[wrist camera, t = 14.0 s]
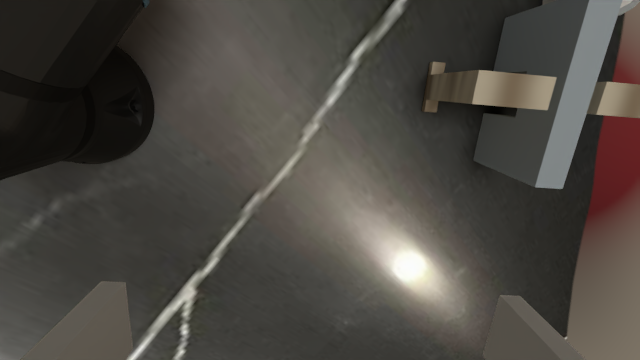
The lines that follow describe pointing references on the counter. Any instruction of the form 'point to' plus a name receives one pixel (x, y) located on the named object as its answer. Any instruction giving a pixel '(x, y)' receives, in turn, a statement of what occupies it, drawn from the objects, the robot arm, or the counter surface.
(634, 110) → the slotted stand
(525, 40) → the slotted plate
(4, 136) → the robot arm
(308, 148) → the counter surface
